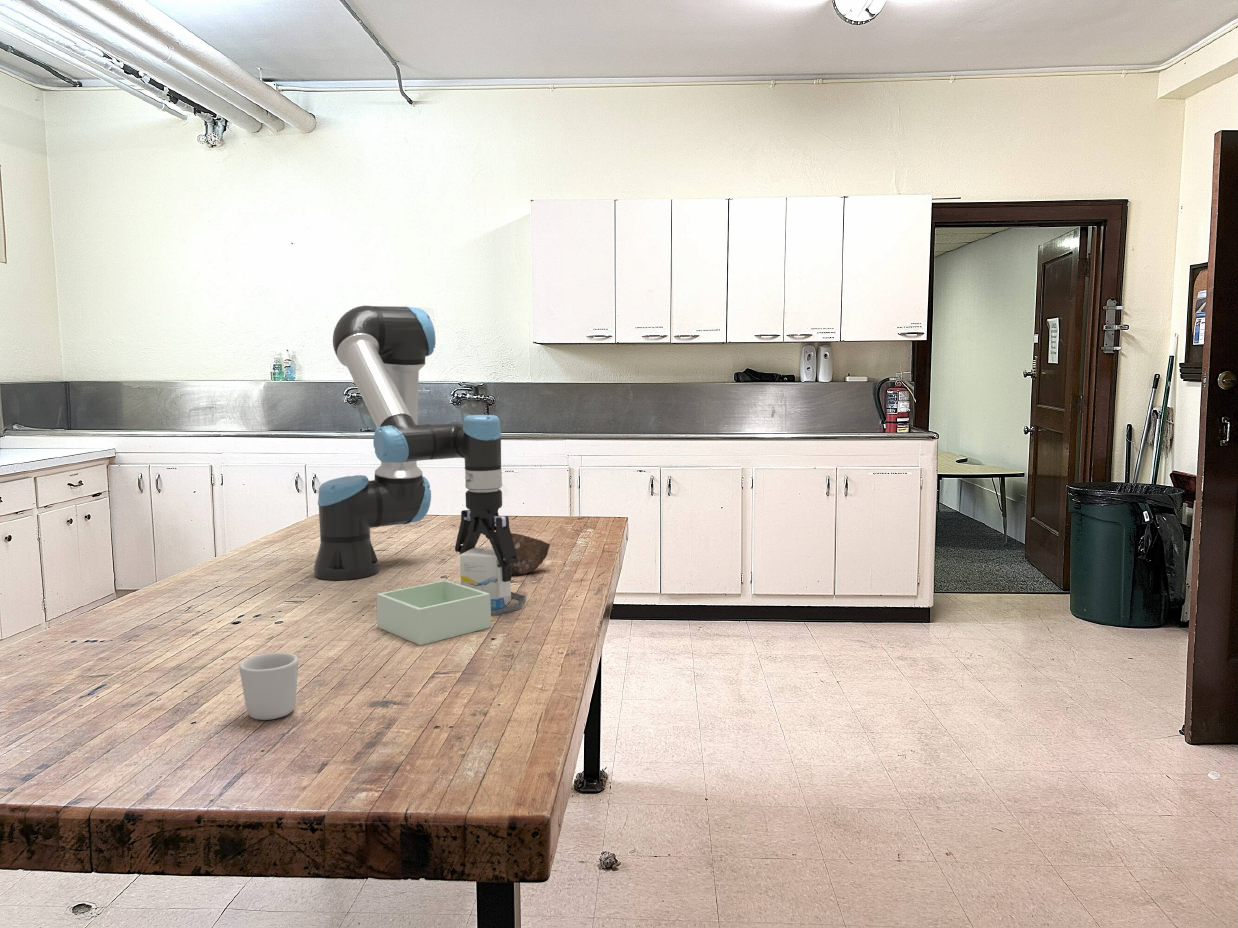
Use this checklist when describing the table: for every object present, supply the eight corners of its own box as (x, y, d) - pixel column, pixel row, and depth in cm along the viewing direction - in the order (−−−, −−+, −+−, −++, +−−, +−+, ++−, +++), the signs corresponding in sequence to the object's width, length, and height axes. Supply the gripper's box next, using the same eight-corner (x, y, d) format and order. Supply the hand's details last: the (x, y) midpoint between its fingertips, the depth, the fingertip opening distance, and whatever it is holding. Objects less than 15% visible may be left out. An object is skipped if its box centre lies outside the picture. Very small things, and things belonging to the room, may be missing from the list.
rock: (549, 548, 220) (551, 532, 211) (540, 586, 215) (541, 571, 206) (501, 536, 220) (501, 520, 211) (490, 574, 215) (490, 559, 206)
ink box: (499, 611, 181) (497, 555, 180) (460, 609, 183) (458, 554, 182) (512, 600, 190) (511, 547, 188) (475, 598, 191) (473, 545, 190)
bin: (377, 627, 171) (376, 593, 170) (446, 611, 182) (445, 579, 181) (420, 645, 160) (418, 609, 159) (491, 627, 170) (490, 593, 170)
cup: (258, 697, 135) (255, 646, 134) (311, 695, 136) (309, 645, 135) (234, 726, 125) (230, 671, 124) (292, 723, 125) (289, 669, 124)
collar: (434, 604, 187) (434, 600, 187) (495, 591, 197) (495, 586, 197) (477, 619, 175) (477, 614, 175) (538, 604, 186) (538, 600, 186)
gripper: (436, 485, 190) (439, 584, 192) (503, 497, 172) (506, 605, 175) (465, 482, 195) (468, 578, 197) (534, 493, 177) (536, 598, 180)
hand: (486, 591), depth 186 cm, fingers open, 12 cm apart
